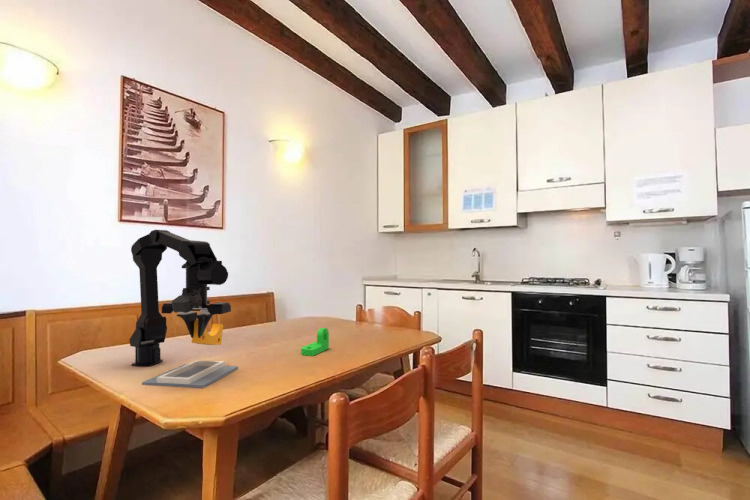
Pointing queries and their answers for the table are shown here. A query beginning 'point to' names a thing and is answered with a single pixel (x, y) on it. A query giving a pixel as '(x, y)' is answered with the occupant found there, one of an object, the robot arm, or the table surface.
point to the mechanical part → (317, 343)
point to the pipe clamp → (208, 335)
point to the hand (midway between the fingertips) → (196, 337)
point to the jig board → (192, 374)
